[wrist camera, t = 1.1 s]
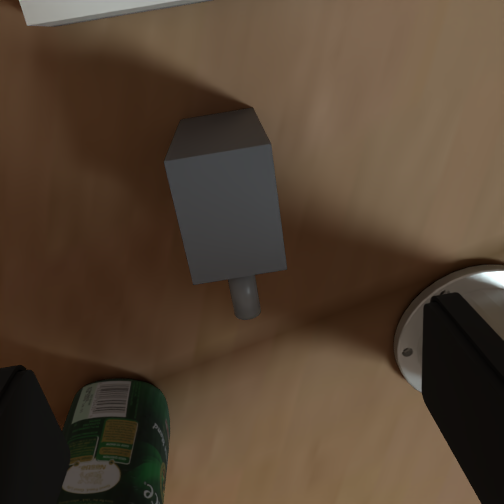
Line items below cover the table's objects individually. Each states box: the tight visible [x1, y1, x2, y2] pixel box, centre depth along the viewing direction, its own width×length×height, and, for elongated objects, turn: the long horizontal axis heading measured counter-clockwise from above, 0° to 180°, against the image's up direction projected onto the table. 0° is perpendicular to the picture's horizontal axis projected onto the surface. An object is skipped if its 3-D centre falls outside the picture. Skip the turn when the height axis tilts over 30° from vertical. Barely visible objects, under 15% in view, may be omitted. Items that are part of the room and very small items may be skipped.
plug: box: [164, 108, 287, 320], centre depth 25 cm, size 4×9×10 cm, turn 8°
